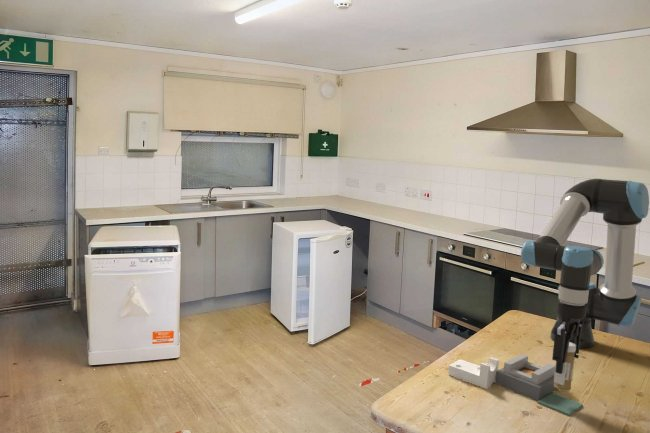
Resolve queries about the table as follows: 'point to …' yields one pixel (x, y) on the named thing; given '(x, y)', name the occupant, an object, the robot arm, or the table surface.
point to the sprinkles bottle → (568, 369)
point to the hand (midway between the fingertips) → (562, 380)
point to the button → (527, 372)
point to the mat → (560, 404)
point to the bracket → (475, 372)
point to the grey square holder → (527, 378)
